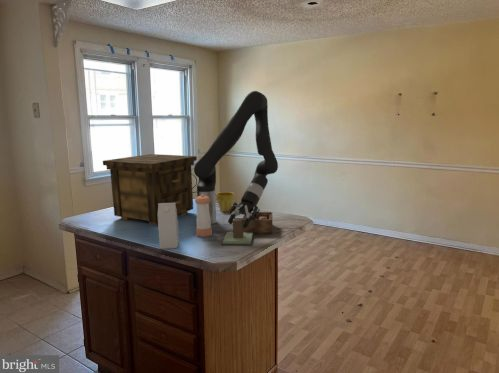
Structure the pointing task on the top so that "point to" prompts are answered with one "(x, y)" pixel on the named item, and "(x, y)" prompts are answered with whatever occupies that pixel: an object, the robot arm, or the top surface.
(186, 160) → the crate
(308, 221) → the top surface
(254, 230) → the crate
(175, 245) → the milk carton
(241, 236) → the lid
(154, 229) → the top surface
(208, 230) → the pepper shaker
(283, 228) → the top surface
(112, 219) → the top surface
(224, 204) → the plant pot
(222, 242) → the mat
